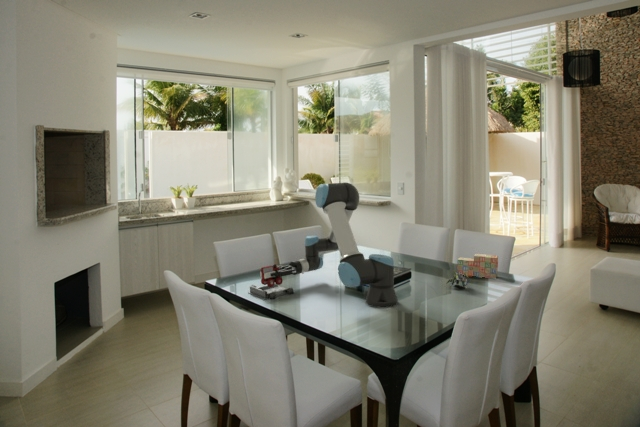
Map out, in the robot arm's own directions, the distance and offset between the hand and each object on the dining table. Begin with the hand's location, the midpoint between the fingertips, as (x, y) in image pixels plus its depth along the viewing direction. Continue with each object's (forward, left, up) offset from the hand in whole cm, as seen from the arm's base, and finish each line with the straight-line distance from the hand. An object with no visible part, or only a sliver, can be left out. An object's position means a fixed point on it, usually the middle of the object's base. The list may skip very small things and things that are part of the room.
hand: (262, 275), depth 240 cm
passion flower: (-63, -79, -10) cm, 102 cm away
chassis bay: (0, -5, -10) cm, 12 cm away
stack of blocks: (-58, -108, -10) cm, 123 cm away
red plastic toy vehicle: (0, -5, -6) cm, 8 cm away
